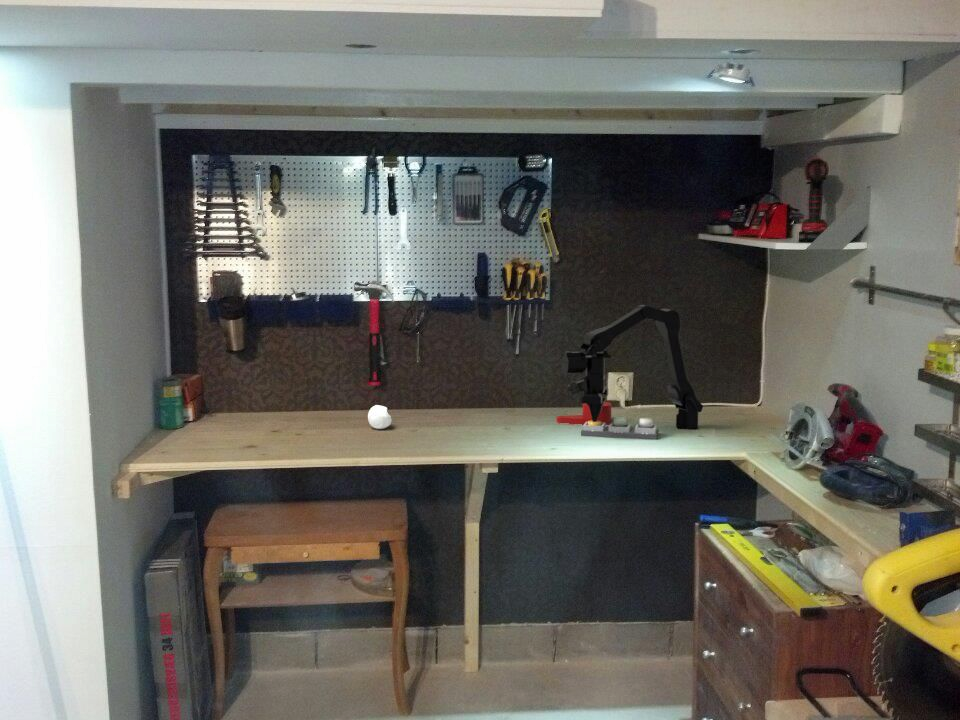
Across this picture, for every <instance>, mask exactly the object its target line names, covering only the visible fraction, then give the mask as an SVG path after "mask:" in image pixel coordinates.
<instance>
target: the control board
mask: <svg viewBox="0 0 960 720" xmlns="http://www.w3.org/2000/svg"><path fill="white" fill-rule="evenodd" d="M580 436H581V437H582V436H583V437H598V438H614V439H615V438H617V439H635V440H650V441H652V440H655V441H656V440H657V438H658V436H659V428H658V424H653V426H651V427H642V426H639V423H637V424H636V425H635V427H632V424H631V423H627V424H626V425H623V426H619V425H614V422H611V424H609V426H608V425H606V423H604V422H601V426H593V425H588V422H585V424H584V425H582V429H581V430H580Z"/></svg>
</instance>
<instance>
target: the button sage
mask: <svg viewBox="0 0 960 720" xmlns="http://www.w3.org/2000/svg"><path fill="white" fill-rule="evenodd" d="M627 419H628V418H627V417H626V416H614V417H613V423H614V425H619V426H623V425H626V424H628V423H627V421H628V420H627Z"/></svg>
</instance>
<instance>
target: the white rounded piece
mask: <svg viewBox="0 0 960 720" xmlns="http://www.w3.org/2000/svg"><path fill="white" fill-rule="evenodd" d="M367 421H368V423H369V425H370V426H371V427H372V428H373V429H377V430H385V429H386V428H388V427H390V425H391V423H392V416H391V415H390V414H389V412H388V407H387V406H384V405H379V404H375V405H374V406H372V407H371V408H370V409H369V411H368V412H367Z"/></svg>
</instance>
